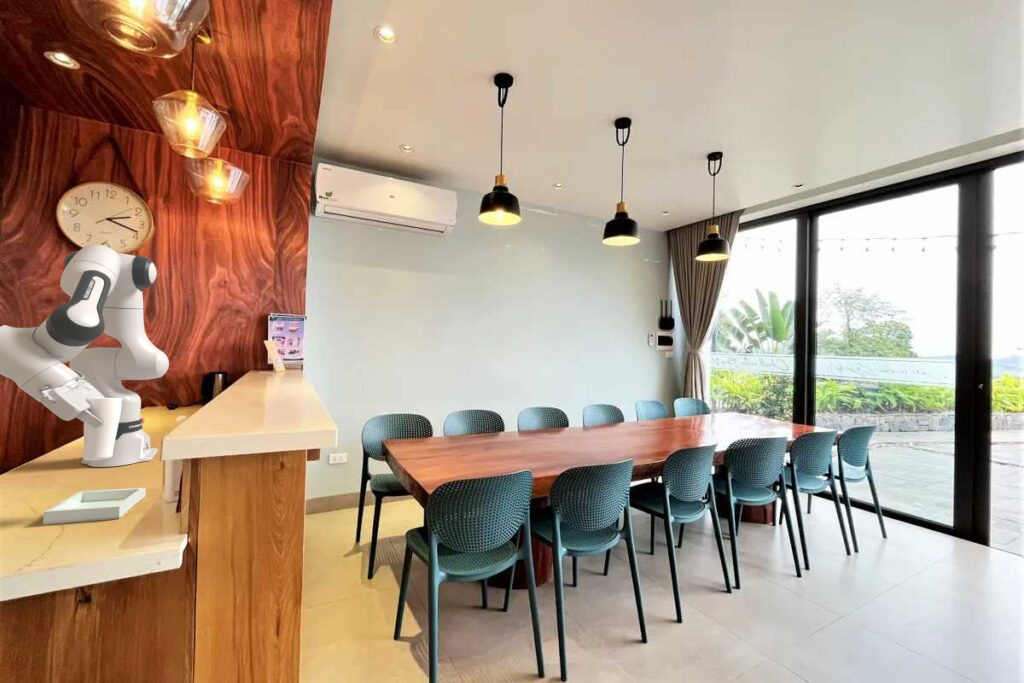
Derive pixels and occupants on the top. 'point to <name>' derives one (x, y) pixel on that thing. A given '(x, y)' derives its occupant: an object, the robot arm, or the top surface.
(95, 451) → the white tall cup
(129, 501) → the tray
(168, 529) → the top surface
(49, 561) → the top surface
